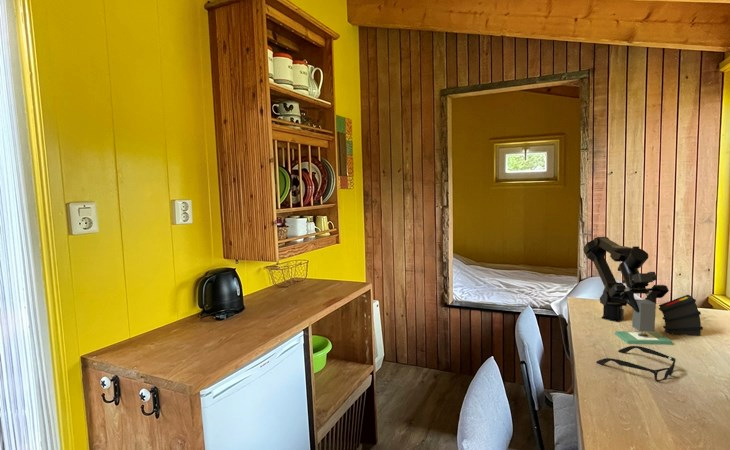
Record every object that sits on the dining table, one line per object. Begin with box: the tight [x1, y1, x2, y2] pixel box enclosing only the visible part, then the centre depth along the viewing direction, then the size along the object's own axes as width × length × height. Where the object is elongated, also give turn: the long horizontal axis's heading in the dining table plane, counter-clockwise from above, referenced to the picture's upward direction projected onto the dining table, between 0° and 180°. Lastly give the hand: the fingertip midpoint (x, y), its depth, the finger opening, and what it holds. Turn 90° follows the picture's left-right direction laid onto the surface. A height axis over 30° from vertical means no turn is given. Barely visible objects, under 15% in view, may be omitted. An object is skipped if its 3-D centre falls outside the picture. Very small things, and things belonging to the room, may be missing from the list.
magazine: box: [658, 294, 704, 337], centre depth 151 cm, size 4×13×15 cm, turn 78°
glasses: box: [596, 345, 677, 382], centre depth 127 cm, size 17×18×5 cm
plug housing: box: [631, 298, 657, 332], centre depth 147 cm, size 5×5×10 cm
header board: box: [614, 330, 674, 346], centre depth 148 cm, size 9×15×5 cm, turn 83°
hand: (646, 311), depth 145 cm, fingers closed on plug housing, 5 cm apart
